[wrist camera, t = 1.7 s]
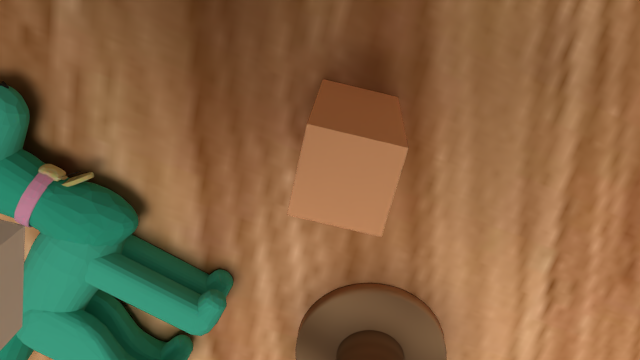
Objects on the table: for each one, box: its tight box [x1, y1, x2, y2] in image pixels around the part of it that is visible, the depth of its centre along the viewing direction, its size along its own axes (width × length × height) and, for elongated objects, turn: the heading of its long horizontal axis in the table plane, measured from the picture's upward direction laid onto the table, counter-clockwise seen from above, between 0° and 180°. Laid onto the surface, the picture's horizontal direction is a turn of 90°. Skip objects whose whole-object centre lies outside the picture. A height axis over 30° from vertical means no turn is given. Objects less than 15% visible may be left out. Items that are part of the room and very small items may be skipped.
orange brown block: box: [287, 79, 408, 237], centre depth 22 cm, size 4×4×7 cm
